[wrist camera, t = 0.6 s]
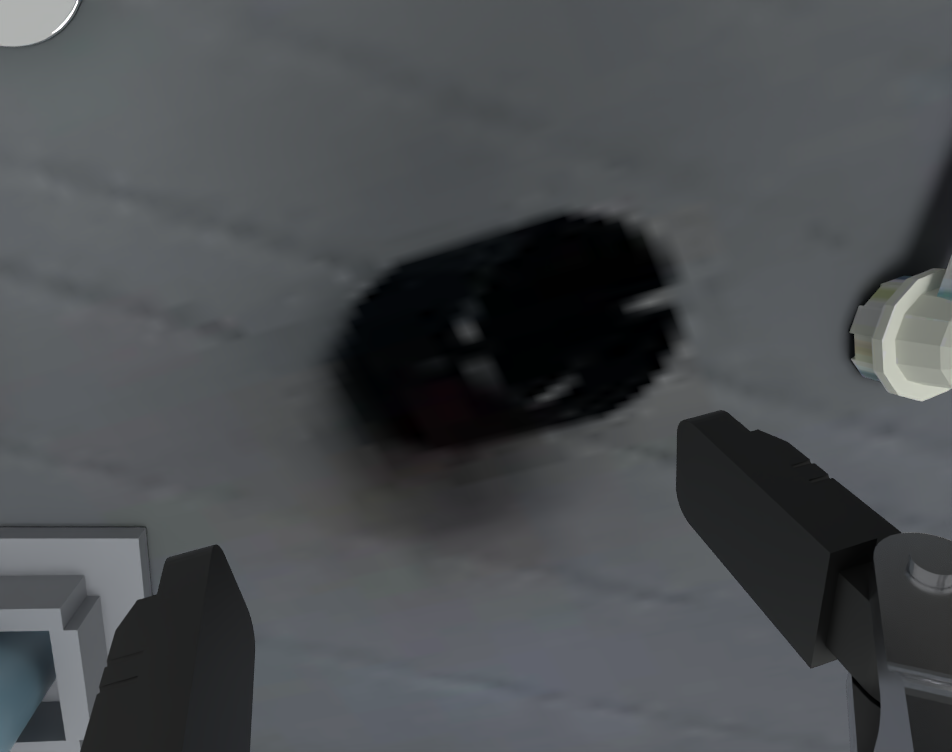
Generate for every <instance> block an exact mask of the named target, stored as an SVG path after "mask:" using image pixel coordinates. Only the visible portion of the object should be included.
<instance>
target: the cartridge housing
mask: <svg viewBox="0 0 952 752" xmlns="http://www.w3.org/2000/svg"><path fill="white" fill-rule="evenodd" d="M150 596H152V590H151V579H150V568H149V557H148V547H147V536H146V527H0V632H4V631H49V633H50V639H51V646H52V653H53V659H54V666H55V672H56V679H55V681H54V682H53V684H52V686H51V687H50V689H49V690H48V692H47V693H46V695H45V697H44V698H43V700H42V701H41V703H40V704H39V706H38V708H37V709H36V711H35V712H34V714H33V715H32V717H31V719H30V720H29V722H28V723H27V725H26V726H25V728H24V730H23V731H22V733H21V734H20V736H19V737H18V739H17V741H16V742H15V744H14V745H13V747H12V748H11V750H10V752H80V750H81V747H82V743H83V740H84V736H85V733H86V730H87V726H88V723H89V719H90V716H91V712H92V709H93V706H94V702H95V699H96V695H97V694H98V693H100V689H99V685H100V682H101V678H102V675H103V671H104V668H105V667H107V658H108V654H109V651H110V647H111V644H112V640H113V637H114V634H115V630H116V629H117V627H118V626H119V625H120V623H121V622H122V620H123V619H124V618H125V616H126V615H127V614H128V612H129V611H130V609H131V608H132V607H133V605H134V604H135V602H136V601H137V600H139V599H142V598H146V597H150Z"/></svg>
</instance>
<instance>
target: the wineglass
mask: <svg viewBox="0 0 952 752" xmlns="http://www.w3.org/2000/svg"><path fill="white" fill-rule="evenodd" d="M80 3H81V0H0V46H2V47H26V46H32V45H36V44H39V43H42V42H44V41H46V40H48V39H50V38H52V37H54V36H55V35H57V34H58V33H59V32H60V31H62V30H63V29H64V28H65V27H66V26H67V25H68V23H69V22H70V21H71V20H72V18H73V17H74V15H75V13H76V12H77V10H78V8H79V5H80Z"/></svg>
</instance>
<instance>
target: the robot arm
mask: <svg viewBox="0 0 952 752" xmlns="http://www.w3.org/2000/svg"><path fill="white" fill-rule="evenodd" d="M676 492H677V498H678V502H679V505H680V508H681V510H682V512H683V514H684V516H685V518H686V520H687V521H688V523H689V524H690V525H691V526H692V528H693V529H694V530H695V531H696V532H697V533H698V535H699V536H700V537H701V538H702V539H703V541H704V542H705V543H706V544H707V545H708V547H709V548H710V549H711V550H712V551H713V553H714V554H715V555H716V556H717V557H718V559H719V560H720V561H721V562H722V563H723V565H724V566H725V567H726V568H727V569H728V570H729V572H730V573H731V574H732V575H733V576H734V578H735V579H736V580H737V581H738V582H739V584H740V585H741V586H742V587H743V588H744V590H745V591H746V592H747V593H748V594H749V596H750V597H751V598H752V599H753V600H754V601H755V603H756V604H757V605H758V606H759V607H760V609H761V610H762V611H763V612H764V613H765V615H766V616H767V617H768V618H769V619H770V621H771V622H772V623H773V624H774V625H775V627H776V628H777V629H778V630H779V631H780V633H781V634H782V635H783V636H784V637H785V638H786V640H787V641H788V642H789V643H790V644H791V646H792V647H793V648H794V649H795V650H796V652H797V653H798V654H799V655H800V656H801V658H802V659H803V660H804V661H805V662H806V664H807V665H808V666H809V667H810V668H814V667H817V666H820V665H823V664H825V663H828V662H831V661H834V660H837V659H838V660H839V661H840V663H841V664H842V665H843V666H844V667H845V668H846V669H847V670H848V675H847V680H846V692H847V707H848V721H849V736H850V750H851V752H952V541H951V540H948V539H946V538H942V537H939V536H935V535H930V534H925V533H901V532H900V531H899V530H898V529H896V528H895V527H894V526H893V525H891V524H890V523H889V522H888V521H886V520H885V519H884V518H883V517H881V516H880V515H879V514H877V513H876V512H875V511H874V510H872V509H871V508H870V507H869V506H867V505H866V504H865V503H864V502H862V501H861V500H860V499H859V498H857V497H856V496H855V495H854V494H852V493H851V492H850V491H849V490H847V489H846V488H845V487H844V486H842V485H841V484H840V483H839V482H837V481H836V480H835V479H834V478H831V479H830V478H829V476H828V474H827V473H826V472H825V471H823V470H822V469H821V468H820V467H818V466H817V465H816V464H815V463H813V464H811V462H810V459H808V458H807V457H806V456H805V455H803V454H802V453H801V452H800V451H798V450H797V449H796V448H795V447H793V446H792V445H791V444H790V443H788V442H786V441H784V440H782V439H779V438H777V437H775V436H772V435H770V434H767V433H765V432H763V431H760V430H755V431H751V432H750V431H749V430H748V429H747V428H745V427H744V426H743V425H742V424H741V423H740V422H738V421H737V420H736V419H735V418H734V417H732V416H731V415H730V414H729V413H727V412H725V411H722V410H720V411H716V412H712V413H708V414H705V415H701V416H697V417H694V418H690V419H686V420H683V421H681V422H680V423H679V425H678V429H677V470H676ZM254 661H255V638H254V631H253V625H252V621H251V617H250V614H249V611H248V608H247V606H246V604H245V601H244V599H243V597H242V594H241V592H240V590H239V587H238V585H237V583H236V580H235V578H234V576H233V573H232V571H231V569H230V566H229V564H228V562H227V559H226V557H225V555H224V553H223V551H222V549H221V548H220V546H218V545H212V546H209V547H205V548H201V549H198V550H194V551H190V552H186V553H183V554H179V555H175V556H172V557H169V558H167V559H166V561H165V564H164V567H163V572H162V576H161V580H160V584H159V589H158V593H157V595H153V596H150V597H146V598H142V599H139V600H137V601H136V602H135V604H134V605H133V607H132V608H131V609H130V611H129V612H128V614H127V615H126V616H125V618H124V619H123V620H122V622H121V623H120V625H119V626H118V627H117V629H116V630H115V634H114V637H113V640H112V644H111V647H110V651H109V654H108V658H107V667H105V668H104V671H103V675H102V678H101V682H100V685H99V689H100V693H98V694H97V695H96V699H95V702H94V706H93V709H92V712H91V716H90V719H89V723H88V726H87V730H86V733H85V736H84V740H83V743H82V747H81V750H80V752H250V738H251V719H252V699H253V680H254Z"/></svg>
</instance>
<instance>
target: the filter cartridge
mask: <svg viewBox="0 0 952 752" xmlns="http://www.w3.org/2000/svg"><path fill="white" fill-rule="evenodd" d="M55 679H56V672H55V666H54V659H53V653H52V646H51V639H50V633H49V631H4V632H0V752H10V750H11V748H12V747H13V745H14V744H15V742H16V741H17V739H18V737H19V736H20V734H21V733H22V731H23V730H24V728H25V726H26V725H27V723H28V722H29V720H30V719H31V717H32V715H33V714H34V712H35V711H36V709H37V708H38V706H39V704H40V703H41V701H42V700H43V698H44V697H45V695H46V693H47V692H48V690H49V689H50V687H51V686H52V684H53V682H54V681H55Z"/></svg>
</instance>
